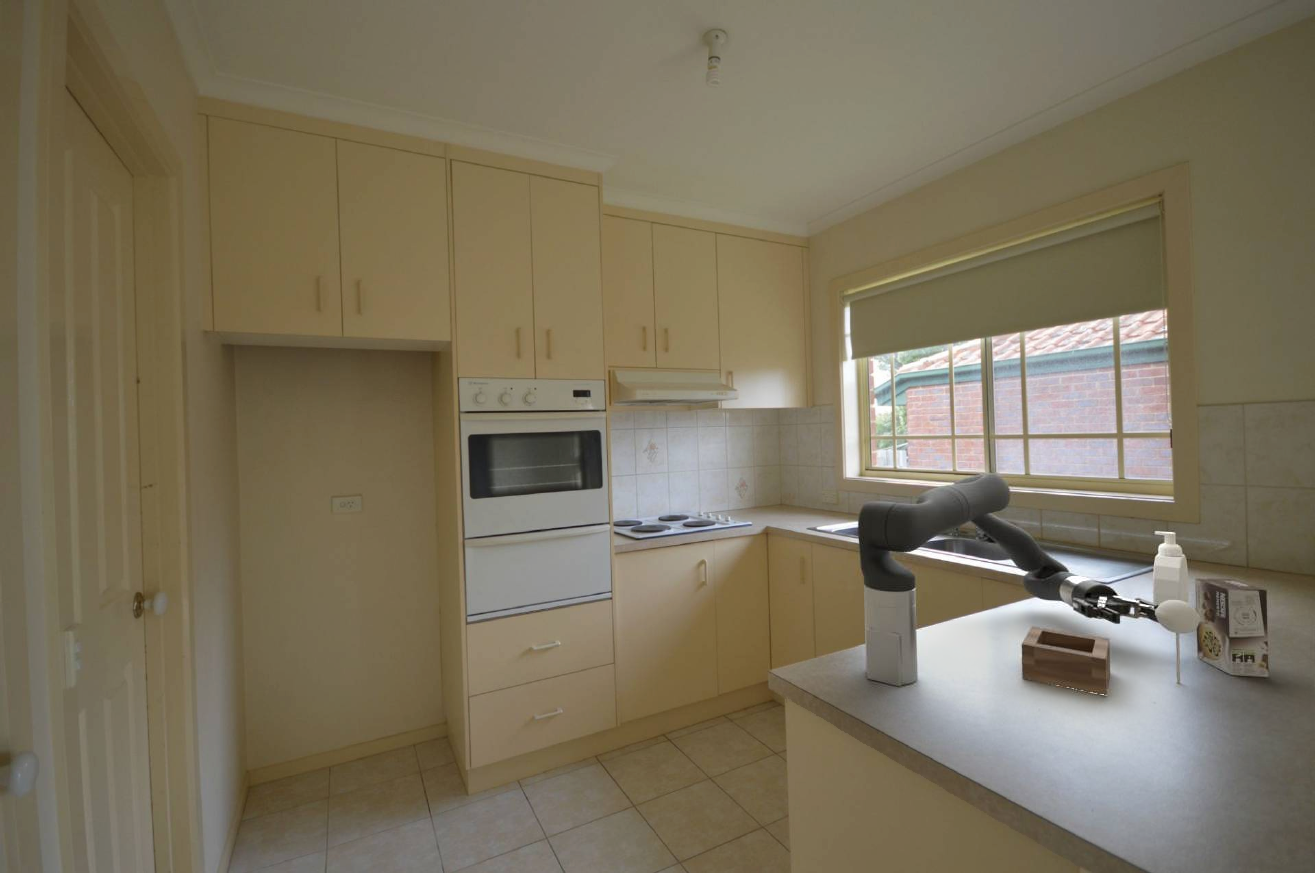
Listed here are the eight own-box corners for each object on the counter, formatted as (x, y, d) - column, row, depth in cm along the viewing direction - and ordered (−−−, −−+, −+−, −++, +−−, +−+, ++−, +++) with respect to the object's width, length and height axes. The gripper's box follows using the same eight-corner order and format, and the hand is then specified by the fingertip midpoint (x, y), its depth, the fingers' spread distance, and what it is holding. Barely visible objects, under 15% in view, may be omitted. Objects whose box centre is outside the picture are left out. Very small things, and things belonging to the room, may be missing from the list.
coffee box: (1271, 677, 107) (1269, 590, 107) (1229, 675, 108) (1228, 589, 108) (1233, 658, 116) (1231, 577, 116) (1195, 657, 117) (1193, 577, 117)
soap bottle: (1161, 603, 152) (1159, 527, 152) (1188, 607, 148) (1187, 529, 148) (1151, 617, 141) (1149, 535, 141) (1180, 622, 137) (1178, 538, 137)
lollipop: (1191, 678, 107) (1189, 597, 107) (1209, 691, 102) (1207, 606, 102) (1150, 674, 109) (1148, 594, 109) (1165, 687, 104) (1163, 603, 104)
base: (1106, 696, 101) (1105, 659, 101) (1022, 678, 109) (1021, 643, 109) (1110, 672, 111) (1109, 638, 111) (1032, 657, 119) (1031, 626, 119)
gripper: (1054, 579, 131) (1102, 599, 115) (1121, 579, 130) (1180, 600, 114) (1054, 612, 131) (1103, 637, 115) (1122, 613, 130) (1181, 638, 114)
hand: (1141, 619), depth 114 cm, fingers open, 8 cm apart
